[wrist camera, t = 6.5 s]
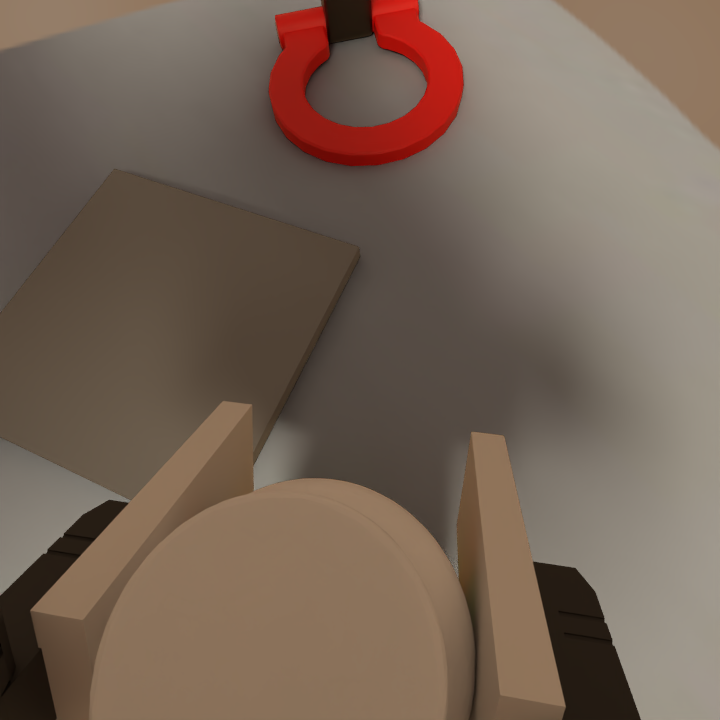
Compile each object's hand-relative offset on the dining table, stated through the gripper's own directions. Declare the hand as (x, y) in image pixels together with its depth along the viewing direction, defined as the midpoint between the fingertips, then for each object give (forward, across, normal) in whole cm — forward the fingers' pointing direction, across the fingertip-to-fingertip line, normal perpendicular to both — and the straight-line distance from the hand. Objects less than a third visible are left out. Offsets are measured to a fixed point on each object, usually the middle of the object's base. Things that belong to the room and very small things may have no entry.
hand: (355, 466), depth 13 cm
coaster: (+6, -8, +1) cm, 10 cm away
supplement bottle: (0, 0, -5) cm, 5 cm away
